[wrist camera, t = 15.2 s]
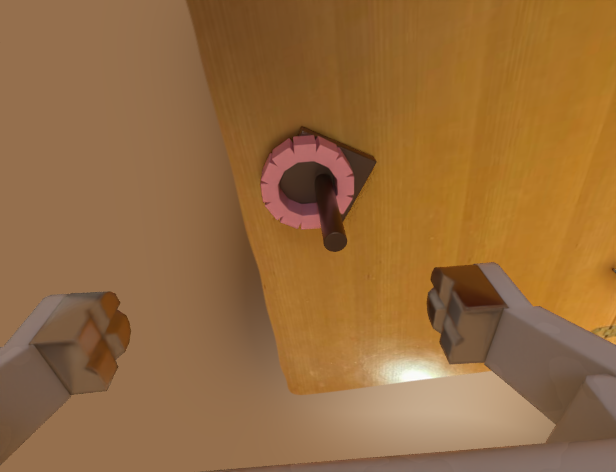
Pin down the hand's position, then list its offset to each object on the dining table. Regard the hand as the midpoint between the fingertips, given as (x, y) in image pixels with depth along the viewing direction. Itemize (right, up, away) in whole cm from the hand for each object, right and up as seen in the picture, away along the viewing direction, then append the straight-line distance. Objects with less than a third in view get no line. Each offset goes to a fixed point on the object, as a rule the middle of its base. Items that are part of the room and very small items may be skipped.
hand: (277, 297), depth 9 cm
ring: (+1, +8, +30) cm, 31 cm away
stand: (+2, +9, +32) cm, 33 cm away
